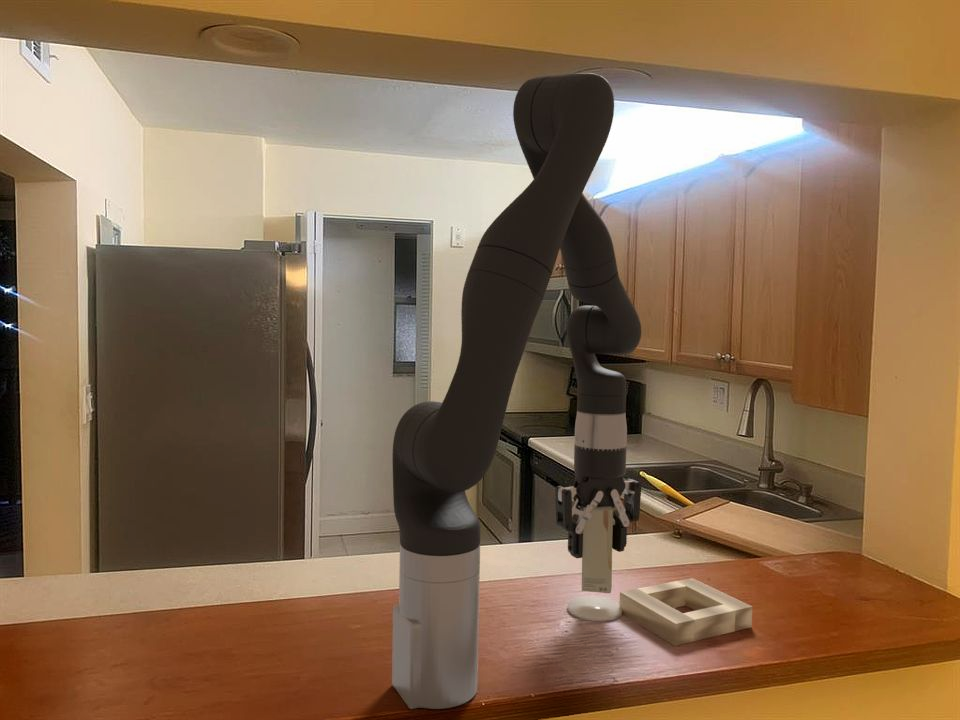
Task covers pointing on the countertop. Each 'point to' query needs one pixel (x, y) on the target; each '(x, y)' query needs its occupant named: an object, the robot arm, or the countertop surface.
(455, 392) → the robot arm
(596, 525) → the skincare box
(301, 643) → the countertop surface
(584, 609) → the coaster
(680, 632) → the pocket block
